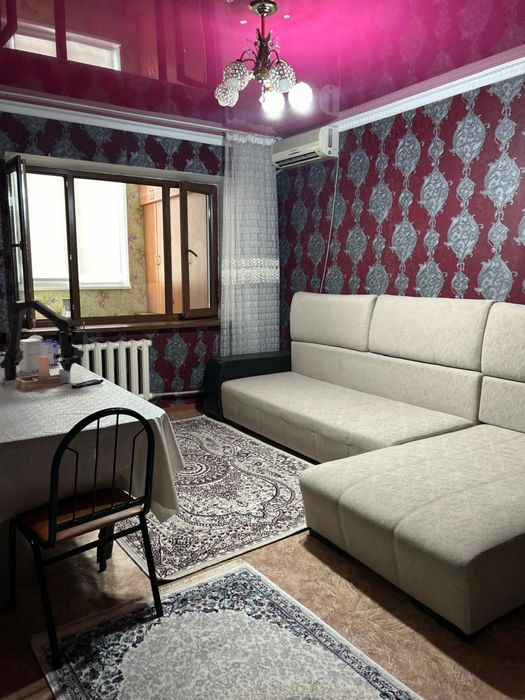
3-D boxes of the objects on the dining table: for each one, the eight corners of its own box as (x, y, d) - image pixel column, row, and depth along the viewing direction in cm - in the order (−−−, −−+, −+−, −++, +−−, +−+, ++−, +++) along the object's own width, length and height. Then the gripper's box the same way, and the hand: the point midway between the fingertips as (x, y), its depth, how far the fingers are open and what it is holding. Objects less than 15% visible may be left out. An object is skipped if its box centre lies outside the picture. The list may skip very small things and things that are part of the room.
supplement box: (36, 367, 305) (34, 338, 302) (44, 370, 299) (42, 339, 296) (19, 370, 298) (17, 339, 295) (26, 372, 292) (24, 341, 289)
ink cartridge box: (59, 363, 317) (58, 339, 314) (54, 365, 311) (52, 340, 309) (44, 363, 319) (42, 338, 316) (38, 364, 313) (37, 339, 311)
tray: (31, 383, 265) (30, 373, 264) (61, 378, 275) (61, 369, 275) (39, 386, 258) (39, 376, 257) (70, 382, 268) (70, 372, 267)
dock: (15, 386, 261) (14, 378, 260) (49, 381, 272) (49, 373, 272) (25, 390, 252) (25, 382, 252) (60, 385, 264) (60, 377, 263)
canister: (40, 381, 266) (38, 355, 264) (50, 380, 267) (49, 355, 265) (38, 383, 262) (37, 357, 259) (49, 383, 263) (47, 357, 260)
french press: (24, 361, 323) (21, 319, 319) (38, 358, 333) (36, 317, 329) (37, 362, 319) (34, 320, 315) (51, 359, 330) (49, 318, 326)
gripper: (90, 344, 270) (91, 375, 272) (73, 340, 283) (74, 369, 285) (68, 347, 262) (70, 378, 265) (52, 342, 275) (53, 372, 278)
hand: (67, 374), depth 273 cm, fingers closed
